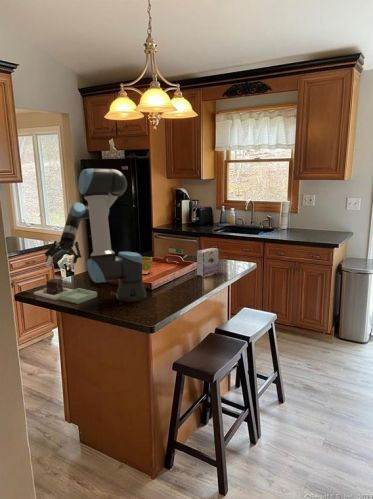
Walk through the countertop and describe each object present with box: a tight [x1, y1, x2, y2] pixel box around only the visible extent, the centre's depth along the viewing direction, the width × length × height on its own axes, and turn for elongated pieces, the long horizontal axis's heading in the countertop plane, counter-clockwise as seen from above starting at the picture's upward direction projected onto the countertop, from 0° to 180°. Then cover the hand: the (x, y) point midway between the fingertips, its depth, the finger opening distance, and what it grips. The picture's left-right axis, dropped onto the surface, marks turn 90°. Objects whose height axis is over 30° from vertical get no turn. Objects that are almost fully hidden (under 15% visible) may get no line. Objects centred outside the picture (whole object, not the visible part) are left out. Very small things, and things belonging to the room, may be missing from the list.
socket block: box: [33, 286, 74, 300], centre depth 197 cm, size 16×14×2 cm
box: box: [46, 278, 64, 295], centre depth 197 cm, size 6×6×7 cm
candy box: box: [196, 247, 220, 276], centre depth 231 cm, size 14×6×16 cm, turn 133°
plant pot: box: [142, 256, 153, 270], centre depth 236 cm, size 10×10×10 cm
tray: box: [58, 287, 98, 305], centre depth 190 cm, size 13×13×2 cm
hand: (59, 267), depth 203 cm, fingers open, 13 cm apart
